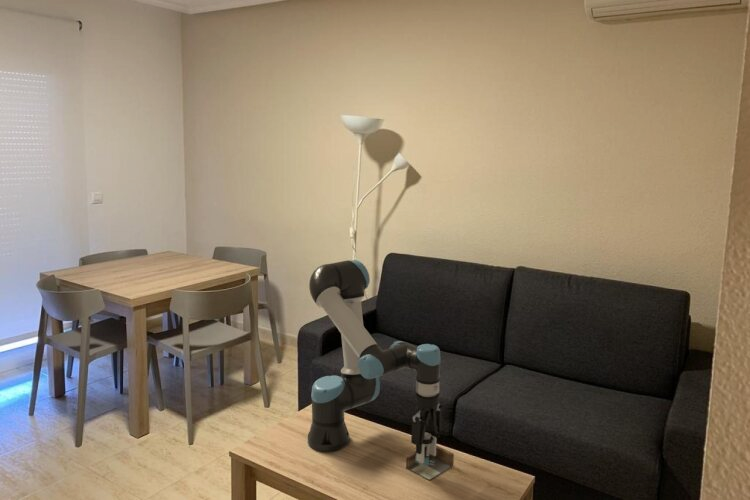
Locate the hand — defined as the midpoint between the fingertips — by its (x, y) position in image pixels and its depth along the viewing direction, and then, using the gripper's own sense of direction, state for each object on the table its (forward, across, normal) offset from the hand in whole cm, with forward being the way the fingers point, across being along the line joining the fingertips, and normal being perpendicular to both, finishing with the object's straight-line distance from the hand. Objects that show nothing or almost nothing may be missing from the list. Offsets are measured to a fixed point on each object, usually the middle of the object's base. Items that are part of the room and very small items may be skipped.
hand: (426, 457), depth 197 cm
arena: (+5, +4, +1) cm, 7 cm away
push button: (+2, -1, 0) cm, 2 cm away
